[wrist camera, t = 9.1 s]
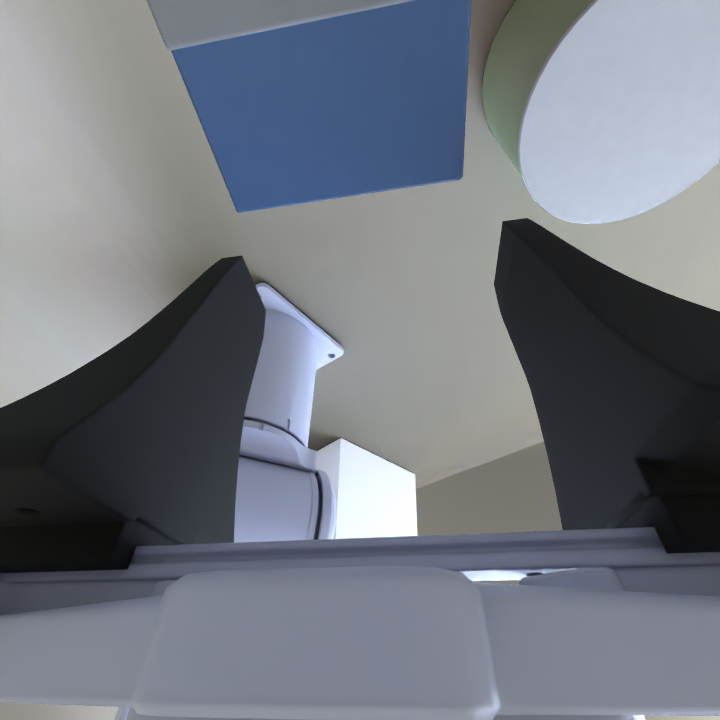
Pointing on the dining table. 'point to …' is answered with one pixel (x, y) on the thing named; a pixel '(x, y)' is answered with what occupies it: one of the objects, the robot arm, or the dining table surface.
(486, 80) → the green yogurt
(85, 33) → the dining table surface
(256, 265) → the dining table surface
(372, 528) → the milk
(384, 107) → the block
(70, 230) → the dining table surface
